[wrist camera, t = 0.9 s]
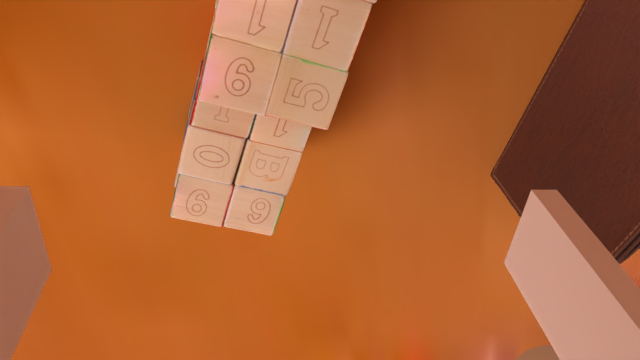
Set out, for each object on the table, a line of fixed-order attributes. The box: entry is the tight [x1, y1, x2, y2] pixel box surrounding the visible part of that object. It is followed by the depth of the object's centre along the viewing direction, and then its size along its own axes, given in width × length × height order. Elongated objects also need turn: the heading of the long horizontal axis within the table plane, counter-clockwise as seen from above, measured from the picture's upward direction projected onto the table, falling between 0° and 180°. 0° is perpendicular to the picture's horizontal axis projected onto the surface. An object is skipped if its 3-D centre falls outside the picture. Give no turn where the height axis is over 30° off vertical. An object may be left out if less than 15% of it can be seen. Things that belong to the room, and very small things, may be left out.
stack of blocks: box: [170, 0, 377, 235], centre depth 28 cm, size 21×6×12 cm, turn 161°
